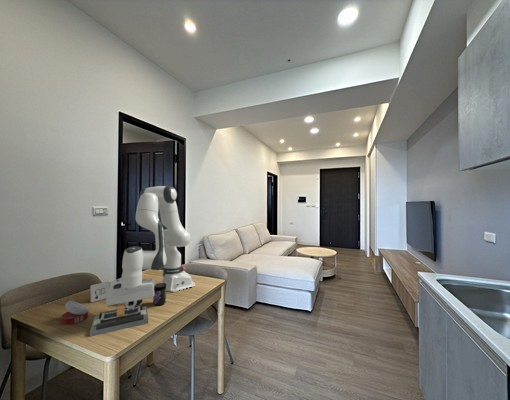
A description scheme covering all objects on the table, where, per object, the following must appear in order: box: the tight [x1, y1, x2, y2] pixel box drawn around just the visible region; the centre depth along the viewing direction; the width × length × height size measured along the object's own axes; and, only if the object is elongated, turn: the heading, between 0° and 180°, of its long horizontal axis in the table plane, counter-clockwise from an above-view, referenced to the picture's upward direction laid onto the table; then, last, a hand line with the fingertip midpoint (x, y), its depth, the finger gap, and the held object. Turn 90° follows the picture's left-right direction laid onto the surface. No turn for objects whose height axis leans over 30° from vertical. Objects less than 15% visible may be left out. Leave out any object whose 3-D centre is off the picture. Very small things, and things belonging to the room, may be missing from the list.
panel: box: [89, 304, 149, 337], centre depth 100 cm, size 22×14×4 cm, turn 121°
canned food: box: [61, 300, 90, 326], centre depth 102 cm, size 11×10×10 cm
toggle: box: [116, 303, 126, 316], centre depth 100 cm, size 3×4×6 cm
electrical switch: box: [89, 281, 110, 303], centre depth 124 cm, size 9×5×9 cm, turn 141°
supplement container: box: [152, 282, 167, 307], centre depth 120 cm, size 7×7×10 cm
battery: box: [128, 299, 144, 306], centre depth 120 cm, size 4×7×10 cm, turn 83°
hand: (130, 310), depth 102 cm, fingers closed
